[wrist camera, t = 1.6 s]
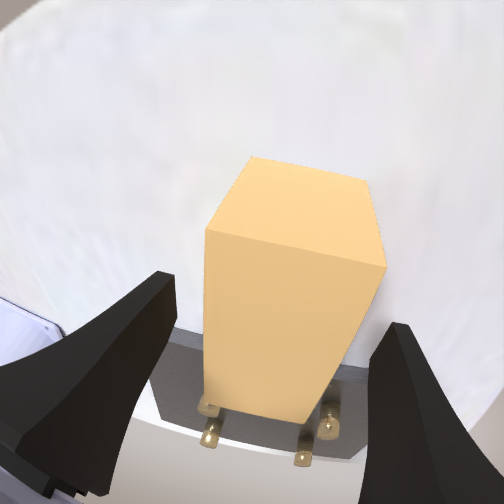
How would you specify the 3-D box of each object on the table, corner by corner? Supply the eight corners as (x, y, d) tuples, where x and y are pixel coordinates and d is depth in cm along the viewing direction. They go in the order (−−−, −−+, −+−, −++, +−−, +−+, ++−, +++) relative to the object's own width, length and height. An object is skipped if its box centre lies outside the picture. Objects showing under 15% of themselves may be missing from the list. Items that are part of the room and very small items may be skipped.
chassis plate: (165, 410, 24) (153, 439, 22) (144, 318, 17) (121, 359, 15) (350, 448, 23) (347, 479, 20) (420, 375, 16) (426, 420, 13)
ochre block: (234, 315, 16) (204, 402, 12) (252, 155, 11) (205, 229, 7) (314, 332, 15) (303, 424, 11) (365, 179, 11) (387, 267, 7)
